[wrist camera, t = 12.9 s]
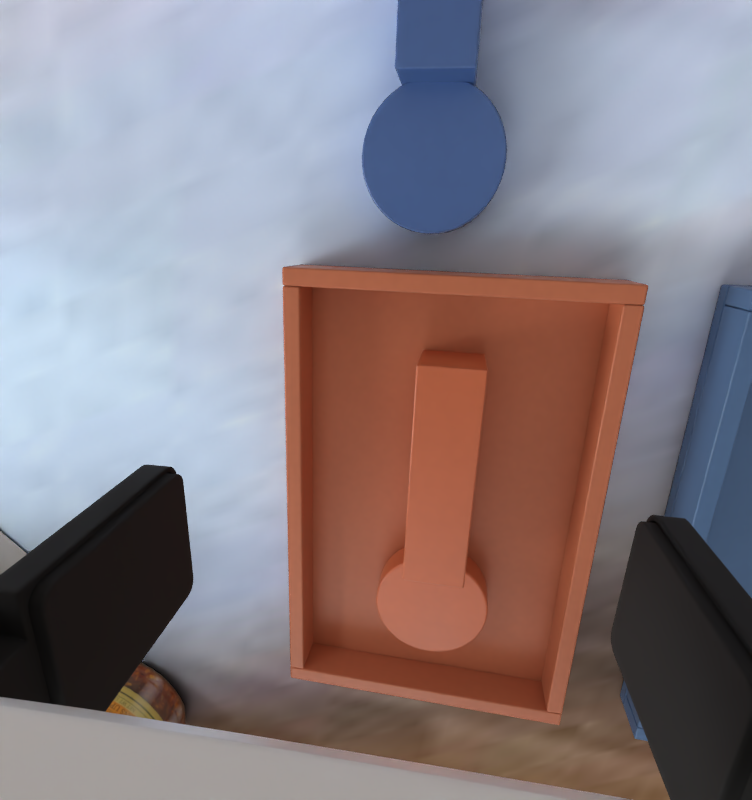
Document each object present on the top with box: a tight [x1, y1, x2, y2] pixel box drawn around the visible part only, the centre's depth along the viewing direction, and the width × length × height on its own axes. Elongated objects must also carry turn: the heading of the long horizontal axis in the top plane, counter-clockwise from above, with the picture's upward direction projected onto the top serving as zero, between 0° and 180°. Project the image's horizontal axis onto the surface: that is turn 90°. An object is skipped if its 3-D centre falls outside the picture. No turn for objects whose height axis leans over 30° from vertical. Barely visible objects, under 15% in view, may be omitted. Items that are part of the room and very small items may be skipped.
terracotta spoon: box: [376, 350, 488, 652], centre depth 18 cm, size 12×4×2 cm, turn 177°
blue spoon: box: [362, 0, 507, 234], centre depth 14 cm, size 12×4×2 cm, turn 177°
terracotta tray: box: [282, 264, 648, 725], centre depth 19 cm, size 17×11×2 cm, turn 177°
